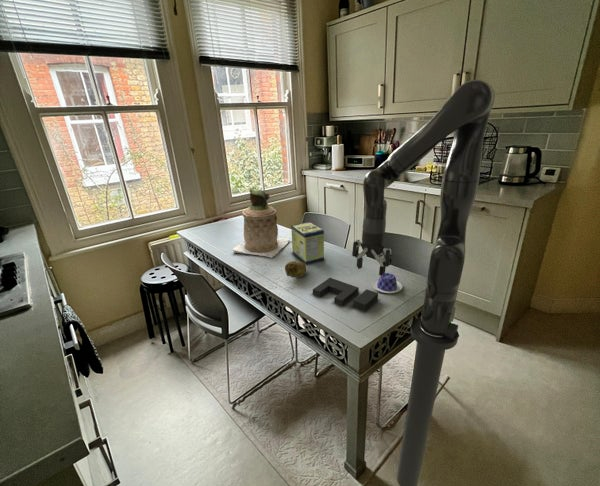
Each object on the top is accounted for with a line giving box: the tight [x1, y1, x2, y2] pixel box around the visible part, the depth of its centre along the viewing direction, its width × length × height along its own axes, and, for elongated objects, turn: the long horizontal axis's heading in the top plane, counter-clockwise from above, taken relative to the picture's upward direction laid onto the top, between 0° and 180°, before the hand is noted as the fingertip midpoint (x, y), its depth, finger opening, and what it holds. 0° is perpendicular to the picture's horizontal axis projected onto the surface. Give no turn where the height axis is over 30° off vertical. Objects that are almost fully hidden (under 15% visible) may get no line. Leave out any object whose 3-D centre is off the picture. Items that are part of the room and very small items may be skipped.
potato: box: [284, 260, 308, 278], centre depth 140 cm, size 8×13×8 cm, turn 131°
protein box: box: [290, 221, 325, 265], centre depth 157 cm, size 10×16×16 cm
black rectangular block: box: [352, 288, 379, 312], centre depth 119 cm, size 5×10×3 cm, turn 140°
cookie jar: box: [231, 189, 290, 259], centre depth 166 cm, size 25×25×32 cm
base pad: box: [312, 277, 360, 307], centre depth 127 cm, size 14×12×2 cm
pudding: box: [371, 272, 403, 294], centre depth 129 cm, size 12×12×5 cm
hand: (370, 271), depth 114 cm, fingers open, 8 cm apart
